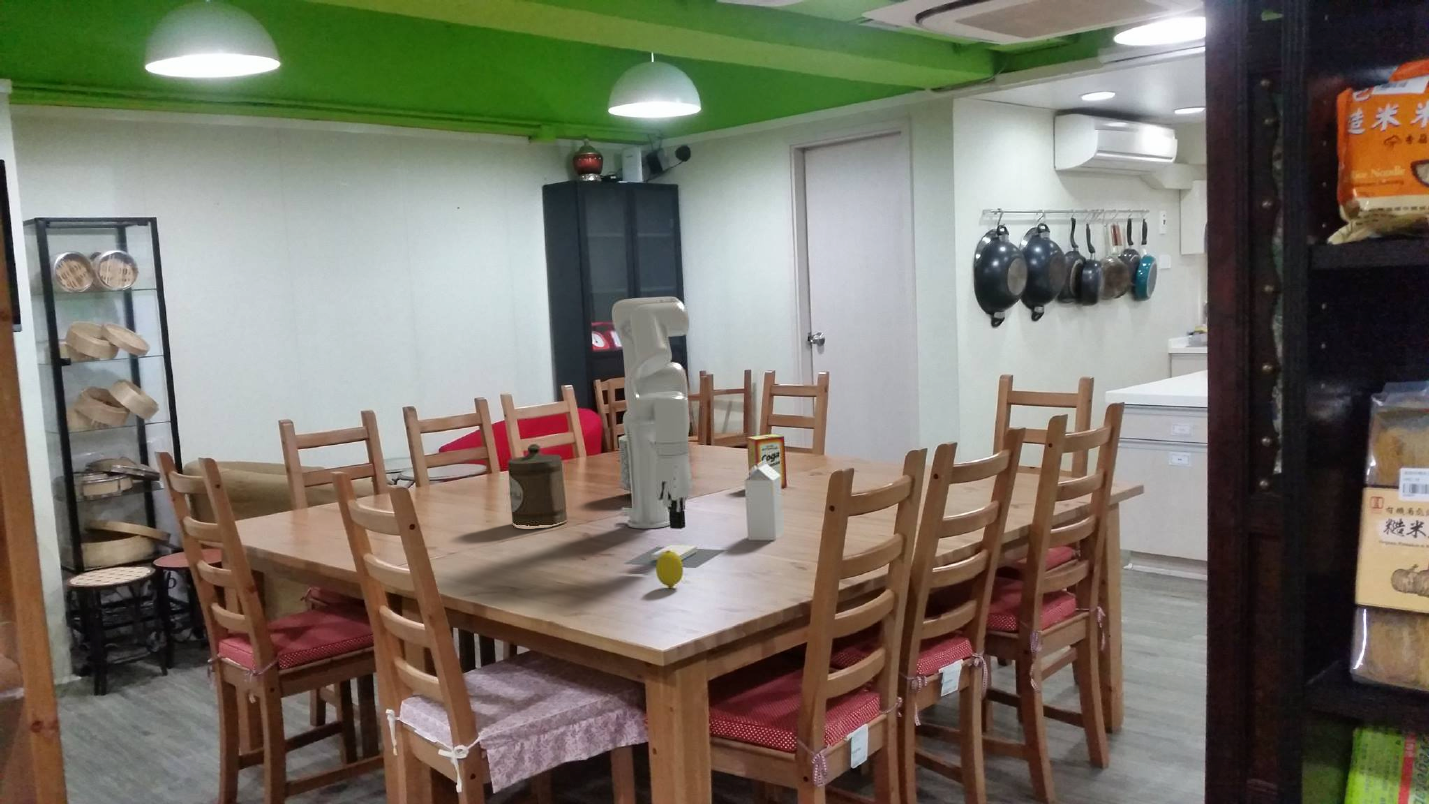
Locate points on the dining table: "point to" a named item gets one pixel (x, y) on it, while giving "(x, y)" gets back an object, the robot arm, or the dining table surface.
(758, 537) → the milk carton
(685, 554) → the tile
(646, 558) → the mat
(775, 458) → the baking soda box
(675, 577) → the lemon
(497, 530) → the dining table surface
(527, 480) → the wooden container
